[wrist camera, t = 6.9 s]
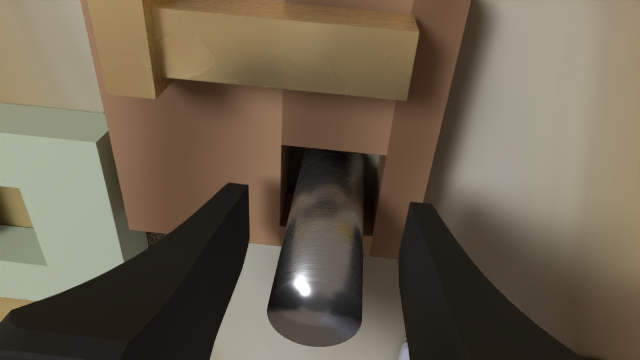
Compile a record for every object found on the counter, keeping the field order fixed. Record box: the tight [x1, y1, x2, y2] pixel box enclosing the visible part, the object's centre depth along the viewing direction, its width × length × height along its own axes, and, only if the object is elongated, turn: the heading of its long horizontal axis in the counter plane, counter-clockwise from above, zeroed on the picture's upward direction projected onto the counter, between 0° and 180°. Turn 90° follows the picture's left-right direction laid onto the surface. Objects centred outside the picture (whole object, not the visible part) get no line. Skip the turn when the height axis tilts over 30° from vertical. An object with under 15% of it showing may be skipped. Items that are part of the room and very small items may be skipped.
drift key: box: [87, 0, 419, 101], centre depth 11 cm, size 7×2×2 cm, turn 86°
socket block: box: [80, 0, 471, 259], centre depth 14 cm, size 10×9×2 cm
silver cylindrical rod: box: [267, 147, 364, 347], centre depth 13 cm, size 2×2×7 cm
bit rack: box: [0, 103, 149, 301], centre depth 18 cm, size 10×8×2 cm
